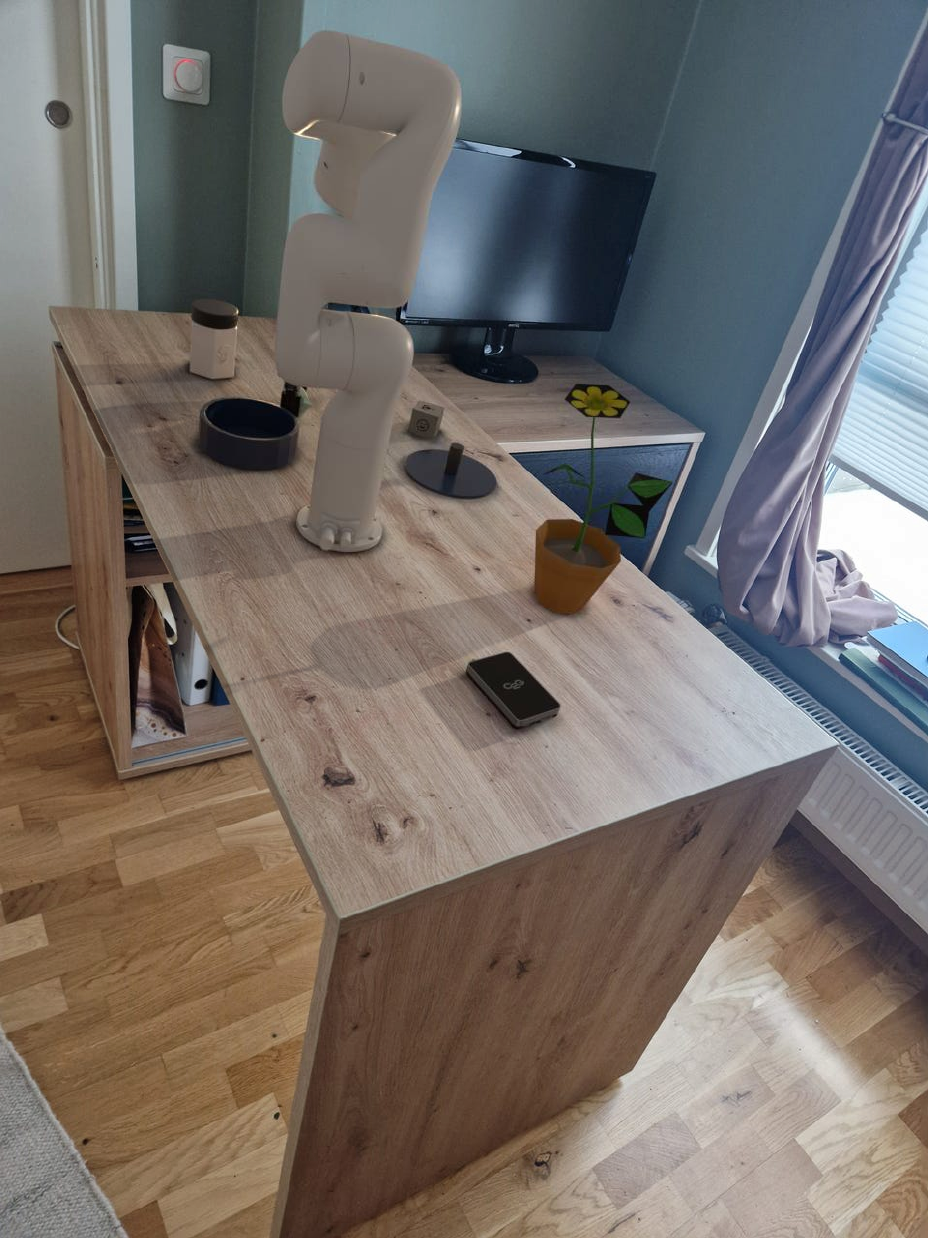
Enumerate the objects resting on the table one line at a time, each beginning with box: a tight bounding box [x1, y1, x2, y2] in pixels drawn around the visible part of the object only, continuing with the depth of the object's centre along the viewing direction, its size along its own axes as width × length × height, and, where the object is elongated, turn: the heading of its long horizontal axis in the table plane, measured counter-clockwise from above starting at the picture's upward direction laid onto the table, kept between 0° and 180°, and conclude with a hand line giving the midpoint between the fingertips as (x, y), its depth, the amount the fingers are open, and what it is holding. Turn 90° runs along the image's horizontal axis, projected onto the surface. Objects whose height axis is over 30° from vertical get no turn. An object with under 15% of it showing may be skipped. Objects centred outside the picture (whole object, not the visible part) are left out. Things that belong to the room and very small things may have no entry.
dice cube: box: [407, 399, 445, 440], centre depth 154 cm, size 5×5×5 cm
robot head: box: [297, 387, 313, 421], centre depth 145 cm, size 8×4×7 cm, turn 34°
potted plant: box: [533, 383, 674, 616], centre depth 112 cm, size 18×19×30 cm
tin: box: [198, 396, 301, 472], centre depth 134 cm, size 15×15×5 cm
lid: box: [403, 442, 498, 500], centre depth 142 cm, size 16×16×6 cm
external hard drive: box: [465, 651, 562, 731], centre depth 100 cm, size 7×11×2 cm, turn 35°
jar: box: [189, 298, 239, 380], centre depth 152 cm, size 9×8×12 cm
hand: (293, 404), depth 145 cm, fingers open, 9 cm apart
